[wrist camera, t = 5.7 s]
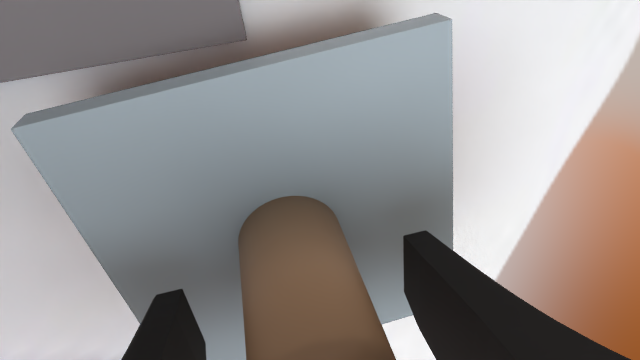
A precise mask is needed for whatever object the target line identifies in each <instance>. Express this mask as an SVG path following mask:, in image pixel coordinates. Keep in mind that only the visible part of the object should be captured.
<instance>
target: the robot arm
mask: <svg viewBox="0 0 640 360" xmlns="http://www.w3.org/2000/svg"><path fill="white" fill-rule="evenodd" d="M403 261H404V293H405V296H406V298H407V301H408V303H409V306H410V308H411V310H412V313H413V315H414V318H415V320H416V322H417V325H418V327H419V329H420V331H421V333H422V335H423V336H424V338H425V340H426V342H427V344H428V345H429V347H430V349H431V351H432V353H433V355H434V356H435V358H436V360H631V359H629V358H626V357H624V356H622V355H620V354H618V353H616V352H614V351H612V350H610V349H608V348H606V347H604V346H602V345H600V344H598V343H596V342H594V341H592V340H590V339H589V338H587V337H585V336H583V335H581V334H579V333H578V332H576V331H574V330H572V329H570V328H569V327H567V326H565V325H563V324H561V323H559V322H557V321H556V320H554V319H553V318H551V317H549V316H547V315H546V314H544V313H543V312H541V311H539V310H538V309H536V308H534V307H533V306H531V305H530V304H528V303H527V302H525V301H524V300H522V299H520V298H519V297H517V296H516V295H514V294H513V293H511V292H510V291H508V290H507V289H505V288H504V287H502V286H501V285H500V284H498V283H497V282H495V281H494V280H492V279H491V278H490V277H488V276H487V275H485V274H484V273H483V272H481V271H480V270H478V269H477V268H476V267H474V266H473V265H471V264H470V263H469V262H467V261H466V260H465V259H463V258H462V257H461V256H459V255H458V254H457V253H455V252H454V251H453V250H452V249H450V248H449V247H448V246H446V245H445V244H444V243H442V242H441V241H440V240H439V239H437V238H436V237H435V236H433V235H432V234H431V233H429V232H428V231H426V230H425V231H420V232H416V233H412V234H408V235H404V236H403ZM122 360H206V343H205V340H204V338H203V335H202V333H201V331H200V328H199V326H198V324H197V321H196V319H195V317H194V314H193V312H192V310H191V307H190V305H189V303H188V301H187V298H186V296H185V294H184V291H183V289H178V290H174V291H170V292H165V293H161V294H157V295H156V296H155V297H154V299H153V300H152V302H151V304H150V306H149V308H148V310H147V312H146V314H145V316H144V318H143V320H142V322H141V324H140V326H139V328H138V330H137V332H136V334H135V336H134V337H133V339H132V341H131V343H130V345H129V347H128V349H127V351H126V352H125V354H124V356H123V358H122Z"/></svg>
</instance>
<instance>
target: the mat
mask: <svg viewBox="0 0 640 360" xmlns="http://www.w3.org/2000/svg"><path fill="white" fill-rule="evenodd" d="M244 40H247V39H246V34H245V29H244V24H243V20H242V15H241V10H240V5H239V1H238V0H0V83H2V82H8V81H13V80H19V79H25V78H31V77H36V76H42V75H48V74H54V73H59V72H65V71H71V70H77V69H82V68H88V67H94V66H100V65H105V64H111V63H117V62H123V61H128V60H134V59H140V58H146V57H151V56H157V55H163V54H169V53H175V52H180V51H186V50H192V49H198V48H203V47H209V46H215V45H221V44H226V43H232V42H238V41H244Z"/></svg>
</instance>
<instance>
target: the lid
mask: <svg viewBox="0 0 640 360" xmlns="http://www.w3.org/2000/svg"><path fill="white" fill-rule="evenodd" d="M11 130H12V132H13V133H14V135H15V136H16V138H17V139H18V141H19V142H20V144H21V145H22V147H23V148H24V150H25V151H26V153H27V154H28V156H29V157H30V159H31V160H32V162H33V163H34V165H35V166H36V168H37V169H38V171H39V172H40V174H41V175H42V177H43V178H44V180H45V181H46V183H47V184H48V186H49V187H50V189H51V190H52V192H53V193H54V195H55V196H56V198H57V199H58V201H59V202H60V204H61V205H62V207H63V208H64V210H65V211H66V213H67V214H68V216H69V217H70V219H71V220H72V222H73V223H74V225H75V226H76V228H77V229H78V231H79V232H80V234H81V235H82V237H83V238H84V240H85V241H86V243H87V244H88V246H89V247H90V249H91V250H92V252H93V253H94V255H95V256H96V258H97V259H98V261H99V262H100V264H101V265H102V267H103V269H104V270H105V272H106V273H107V275H108V276H109V278H110V279H111V281H112V282H113V284H114V285H115V287H116V288H117V290H118V291H119V293H120V294H121V296H122V297H123V299H124V300H125V302H126V303H127V305H128V306H129V308H130V309H131V311H132V312H133V314H134V315H135V317H136V318H137V320H138V321H139V323H140V324H141V322H142V320H143V318H144V316H145V314H146V312H147V310H148V308H149V306H150V304H151V302H152V300H153V299H154V297H155V296H156V295H157V294H161V293H165V292H170V291H174V290H178V289H183V291H184V294H185V296H186V298H187V301H188V303H189V305H190V307H191V310H192V312H193V314H194V317H195V319H196V321H197V324H198V326H199V328H200V331H201V333H202V335H203V338H204V340H205V343H206V360H396V359H395V356H394V354H393V351H392V349H391V347H390V344H389V342H388V339H387V337H386V335H385V332H384V330H383V327H382V324H385V323H388V322H391V321H395V320H398V319H401V318H404V317H408V316H411V315H413V313H412V310H411V308H410V306H409V303H408V301H407V298H406V296H405V293H404V261H403V236H404V235H408V234H412V233H416V232H420V231H425V230H426V231H428V232H429V233H431V234H432V235H433V236H435V237H436V238H437V239H439V240H440V241H441V242H442V243H444V244H445V245H446V246H448V247H449V248H450V249H452V250H453V130H452V19H450V18H447V17H445V16H442V15H440V14H437V13H434V14H430V15H426V16H422V17H418V18H414V19H410V20H405V21H401V22H397V23H393V24H389V25H385V26H381V27H377V28H373V29H369V30H365V31H361V32H357V33H353V34H349V35H345V36H341V37H337V38H332V39H328V40H324V41H320V42H316V43H312V44H308V45H304V46H300V47H296V48H292V49H288V50H284V51H280V52H276V53H272V54H268V55H263V56H259V57H255V58H251V59H247V60H243V61H239V62H235V63H231V64H227V65H223V66H219V67H215V68H211V69H207V70H203V71H199V72H195V73H190V74H186V75H182V76H178V77H174V78H170V79H166V80H162V81H158V82H154V83H150V84H146V85H142V86H138V87H134V88H130V89H126V90H121V91H117V92H113V93H109V94H105V95H101V96H97V97H93V98H89V99H85V100H81V101H77V102H73V103H69V104H65V105H61V106H57V107H53V108H48V109H44V110H40V111H36V112H32V113H28V114H26V115H24V116H23V117H22V118H21V119H20V120H19V121H18V122H17V123H16V124H15V125H14V126H13V127H12V128H11Z"/></svg>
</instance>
